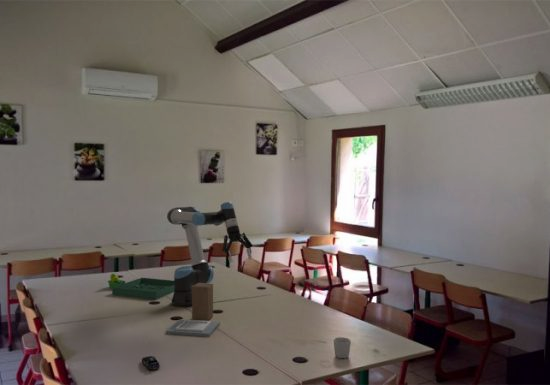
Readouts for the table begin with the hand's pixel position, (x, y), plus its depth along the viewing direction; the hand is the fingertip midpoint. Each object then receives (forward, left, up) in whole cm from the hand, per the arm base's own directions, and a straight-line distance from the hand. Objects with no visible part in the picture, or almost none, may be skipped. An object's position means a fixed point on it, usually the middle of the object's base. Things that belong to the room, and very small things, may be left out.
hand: (240, 260), depth 294 cm
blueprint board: (-19, -29, -33) cm, 48 cm away
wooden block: (-20, -10, -33) cm, 40 cm away
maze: (-77, +43, -34) cm, 95 cm away
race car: (-22, -80, -34) cm, 89 cm away
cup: (+62, -52, -33) cm, 87 cm away
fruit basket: (-104, +47, -34) cm, 119 cm away
